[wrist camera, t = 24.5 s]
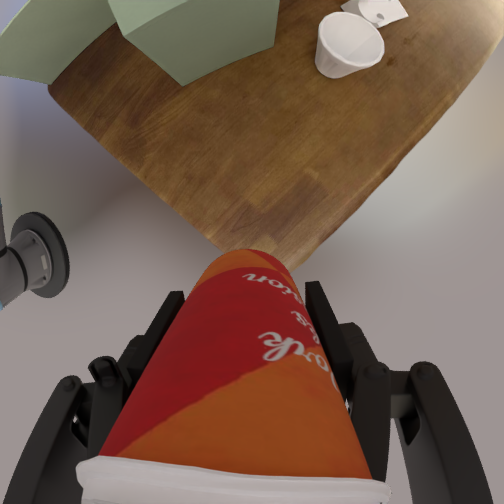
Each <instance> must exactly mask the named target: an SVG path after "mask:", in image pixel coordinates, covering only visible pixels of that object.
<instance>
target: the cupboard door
mask: <svg viewBox="0 0 504 504" xmlns="http://www.w3.org/2000/svg"><path fill="white" fill-rule="evenodd" d="M116 22H117V21H116V19H115V17H114V14H113V12H112V10H111V7H110V5H109V3H108V1H107V0H28V1H27V3H26V4H25V5H24V6H23V7H22V8H21V9H20V10H19V12H18V13H17V14H16V15H15V16H14V17H13V19H12V20H11V21H10V22H9V24H8V25H7V26H6V27H5V29H4V30H3V31H2V33H1V34H0V75H2V76H8V77H14V78H20V79H25V80H30V81H35V82H40V83H44V84H49V85H51V84H52V83H53V82H54V80H55V79H56V78H57V77H58V76H59V75H60V74H61V73H62V72H63V70H64V69H65V68H66V67H67V66H68V65H69V64H70V63H71V62H72V61H73V60H74V59H75V58H76V57H77V56H78V55H79V54H80V53H81V52H82V51H83V50H84V49H85V48H86V47H87V46H88V45H90V44H91V43H92V42H93V41H94V40H95V39H96V38H97V37H99V36H100V35H101V34H102V33H103V32H104V31H106V30H107V29H108V28H109V27H110V26H112V25H113V24H114V23H116Z"/></svg>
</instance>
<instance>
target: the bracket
mask: <svg viewBox="0 0 504 504" xmlns="http://www.w3.org/2000/svg"><path fill="white" fill-rule="evenodd" d="M340 7H341V8H342V9H343V11H344V12H349V13H352V14H356V15H359V16H361V17H362V18H364V19H366V20H367V21H369V22H370V23H371V24H372V25H373V26H374V27H375V28H379V27H381V26H384V25H387V24H389V23H390V22H393V21H396V20H398V19H401V18H404V17H408V14H407V13H406V11H405V10H404V8H403V7H402V5H401V4H400V2H399V1H398V0H350V1H348V2H346V3H345V4H343V5H341V6H340Z"/></svg>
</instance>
